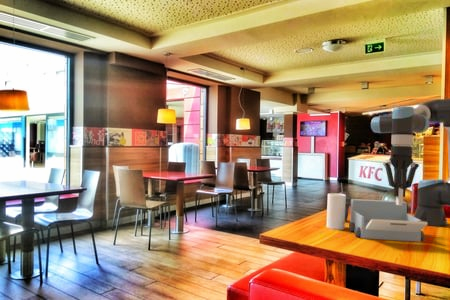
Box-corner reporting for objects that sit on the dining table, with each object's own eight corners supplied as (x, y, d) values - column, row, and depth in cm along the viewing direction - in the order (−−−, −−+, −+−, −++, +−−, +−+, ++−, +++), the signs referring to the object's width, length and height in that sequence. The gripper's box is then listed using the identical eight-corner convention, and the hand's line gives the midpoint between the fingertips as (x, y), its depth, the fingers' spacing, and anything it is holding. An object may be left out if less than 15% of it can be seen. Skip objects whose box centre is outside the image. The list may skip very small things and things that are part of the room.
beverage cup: (351, 222, 169) (352, 184, 168) (336, 221, 170) (337, 183, 170) (348, 219, 176) (349, 182, 176) (334, 218, 177) (335, 181, 177)
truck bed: (406, 230, 155) (407, 201, 155) (424, 241, 137) (425, 208, 137) (346, 227, 158) (347, 198, 158) (357, 237, 140) (358, 205, 140)
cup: (342, 225, 162) (343, 193, 161) (346, 230, 154) (347, 196, 153) (325, 224, 162) (326, 192, 162) (328, 229, 154) (329, 195, 154)
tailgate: (417, 230, 137) (426, 221, 130) (418, 232, 136) (427, 224, 129) (365, 227, 140) (371, 218, 132) (365, 229, 139) (372, 221, 132)
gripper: (414, 146, 134) (412, 204, 134) (381, 145, 135) (378, 202, 135) (423, 146, 126) (420, 207, 126) (388, 145, 128) (385, 205, 128)
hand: (399, 204), depth 131 cm, fingers closed
